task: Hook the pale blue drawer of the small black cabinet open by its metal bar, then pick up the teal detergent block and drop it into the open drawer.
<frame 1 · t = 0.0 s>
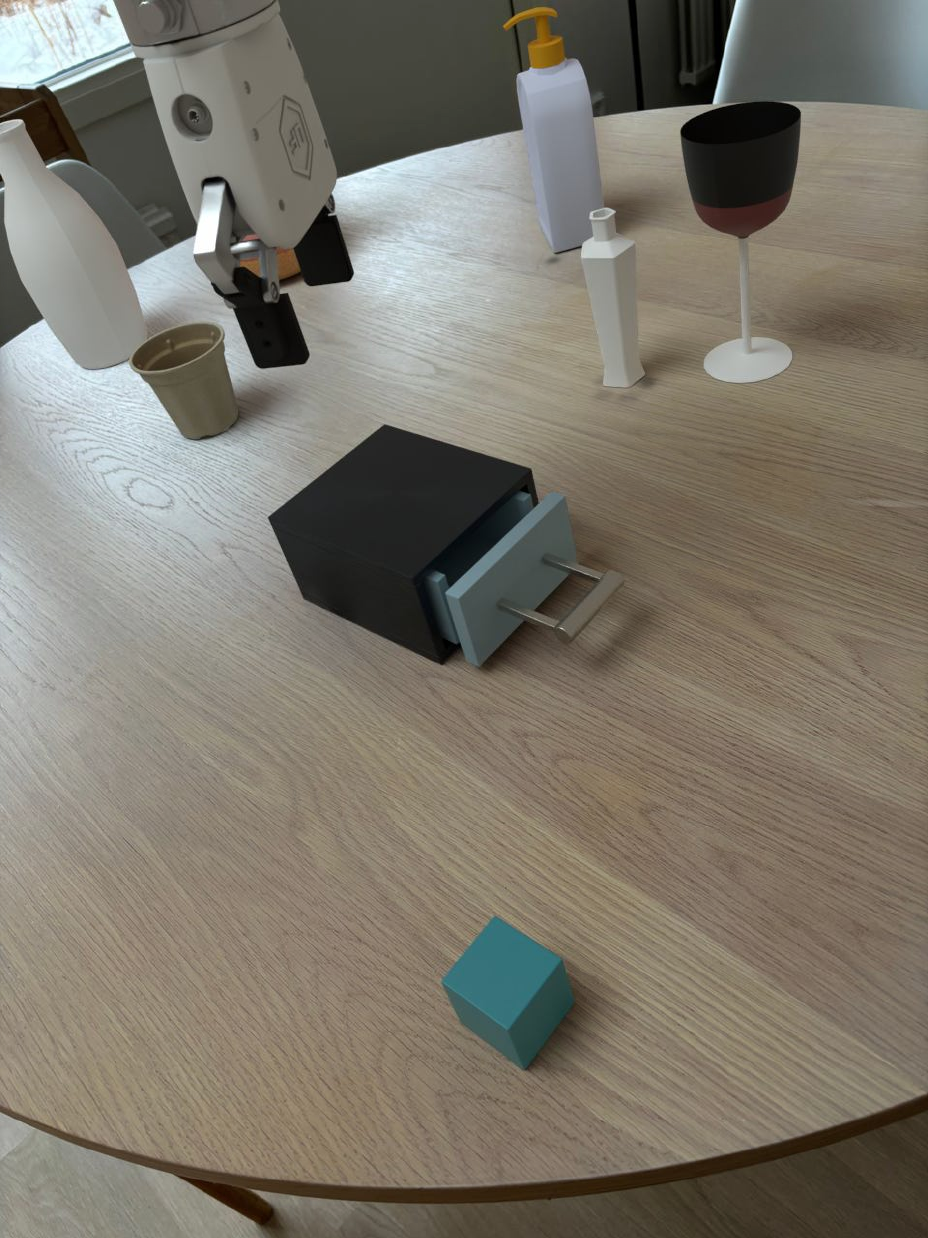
hand: (308, 320, 60), 23 cm above the table, tool pointing down, fingers open, 9 cm apart
bottle: (114, 351, 120), on the table
perfume bottle: (620, 379, 91), on the table
wineglass: (747, 361, 89), on the table
vase: (280, 268, 127), on the table
small black cabinet: (424, 578, 77), on the table
drawer: (481, 564, 70), point 4 cm above the table, slide at 2.0 cm
flower pot: (211, 423, 102), on the table
soap bottle: (570, 235, 116), on the table
detergent block: (517, 1012, 51), on the table
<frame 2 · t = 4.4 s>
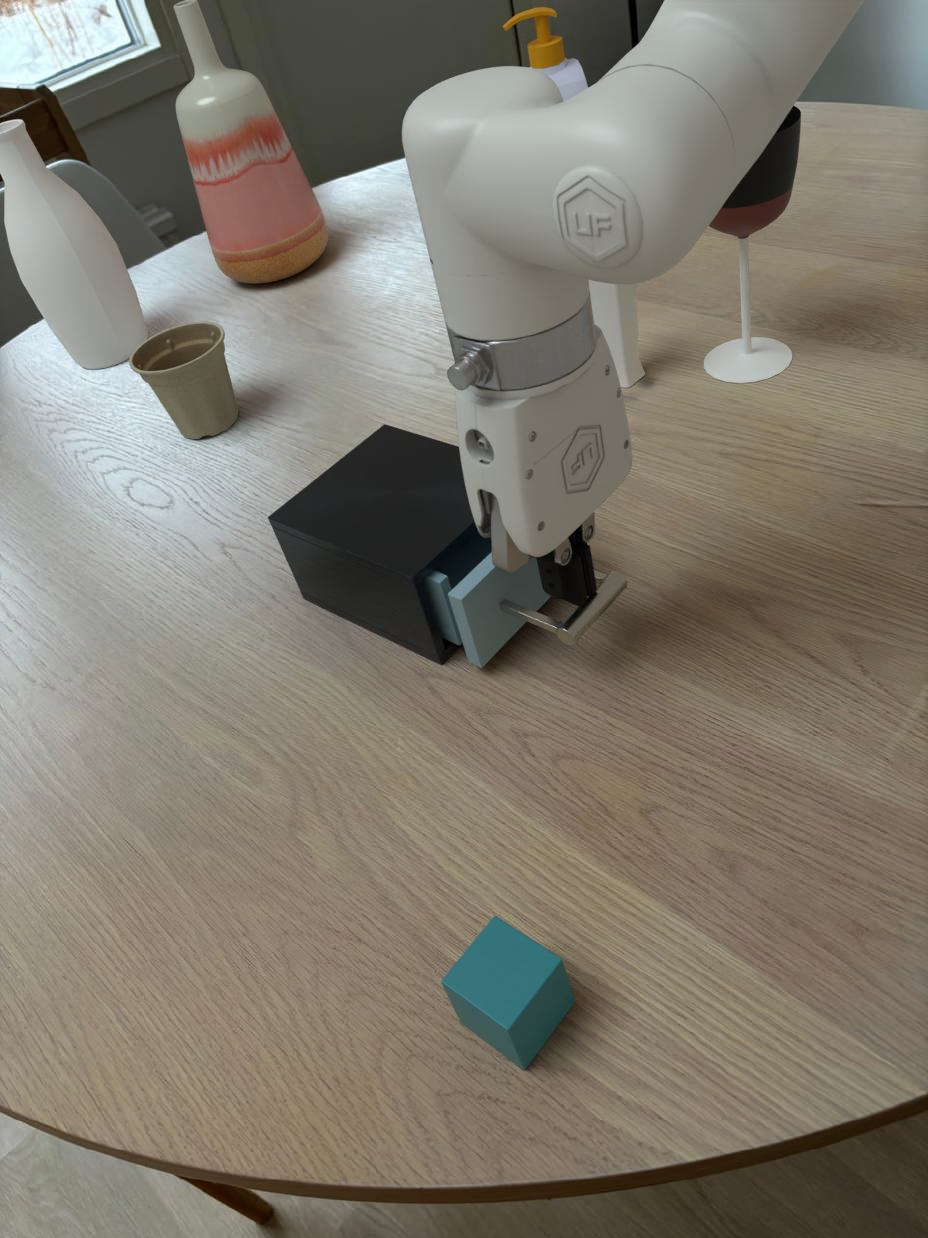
hand: (570, 592, 65), 5 cm above the table, tool pointing down, fingers closed
drawer: (484, 565, 70), point 4 cm above the table, slide at 2.2 cm, touching gripper
everything else where it was.
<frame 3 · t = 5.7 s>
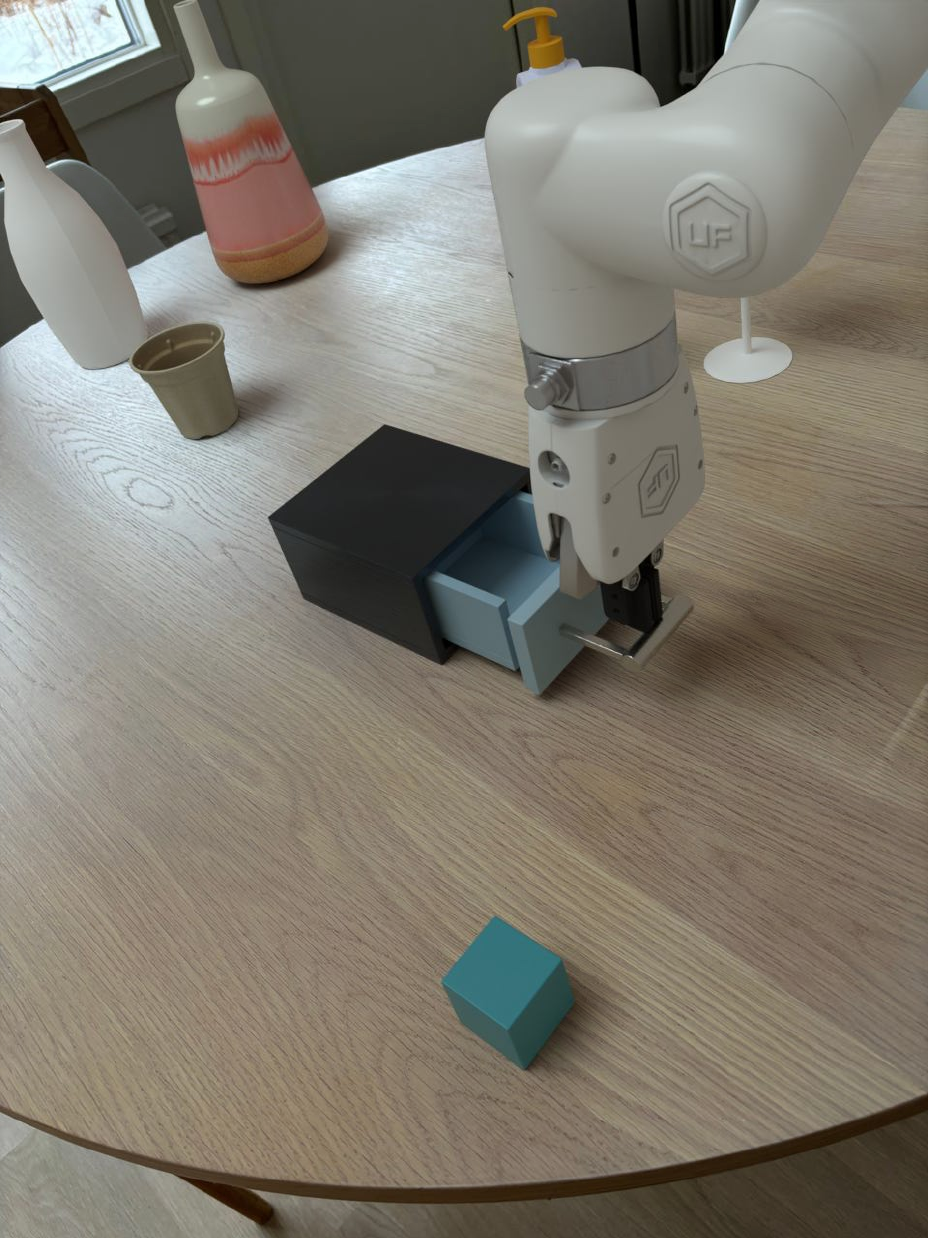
hand: (633, 616, 62), 5 cm above the table, tool pointing down, fingers closed
drawer: (540, 587, 67), point 4 cm above the table, slide at 7.1 cm, touching gripper
everything else where it was.
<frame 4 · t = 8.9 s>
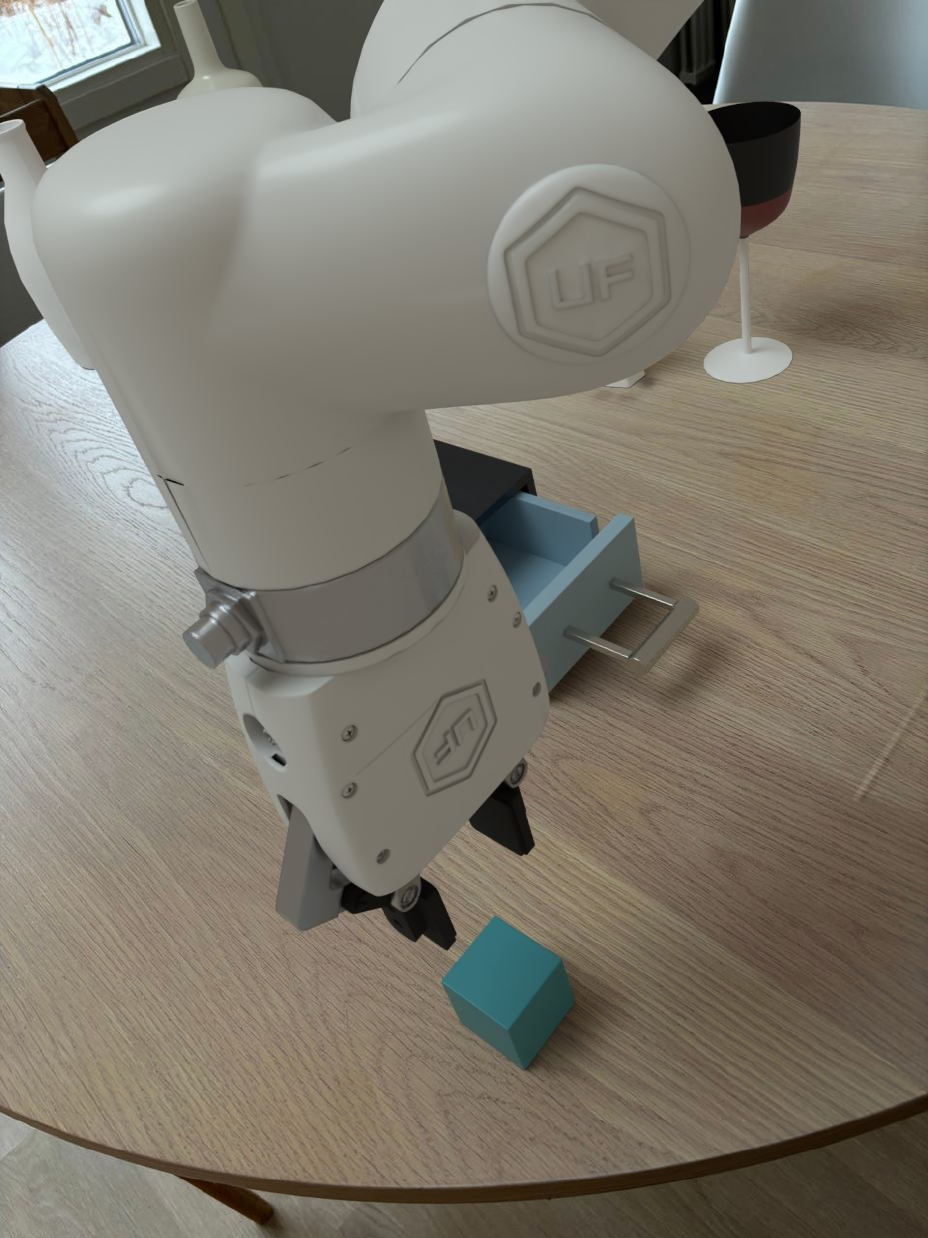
hand: (464, 878, 42), 12 cm above the table, tool pointing down, fingers open, 4 cm apart
drawer: (544, 589, 67), point 4 cm above the table, slide at 7.5 cm
everything else where it was.
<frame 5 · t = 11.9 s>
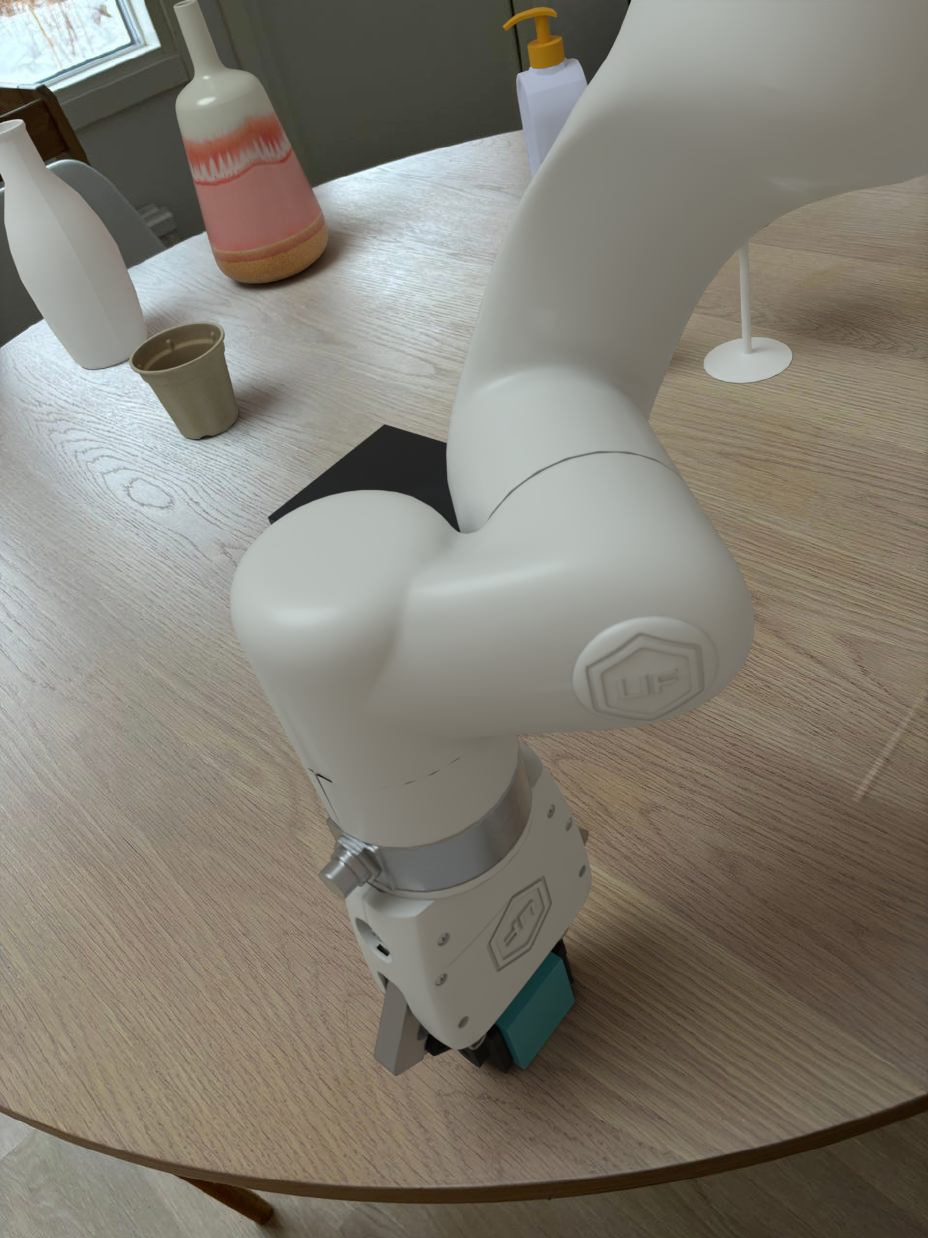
hand: (516, 1009, 50), 0 cm above the table, tool pointing down, fingers closed on detergent block, 4 cm apart
detergent block: (517, 1012, 51), on the table, touching gripper
everything else where it was.
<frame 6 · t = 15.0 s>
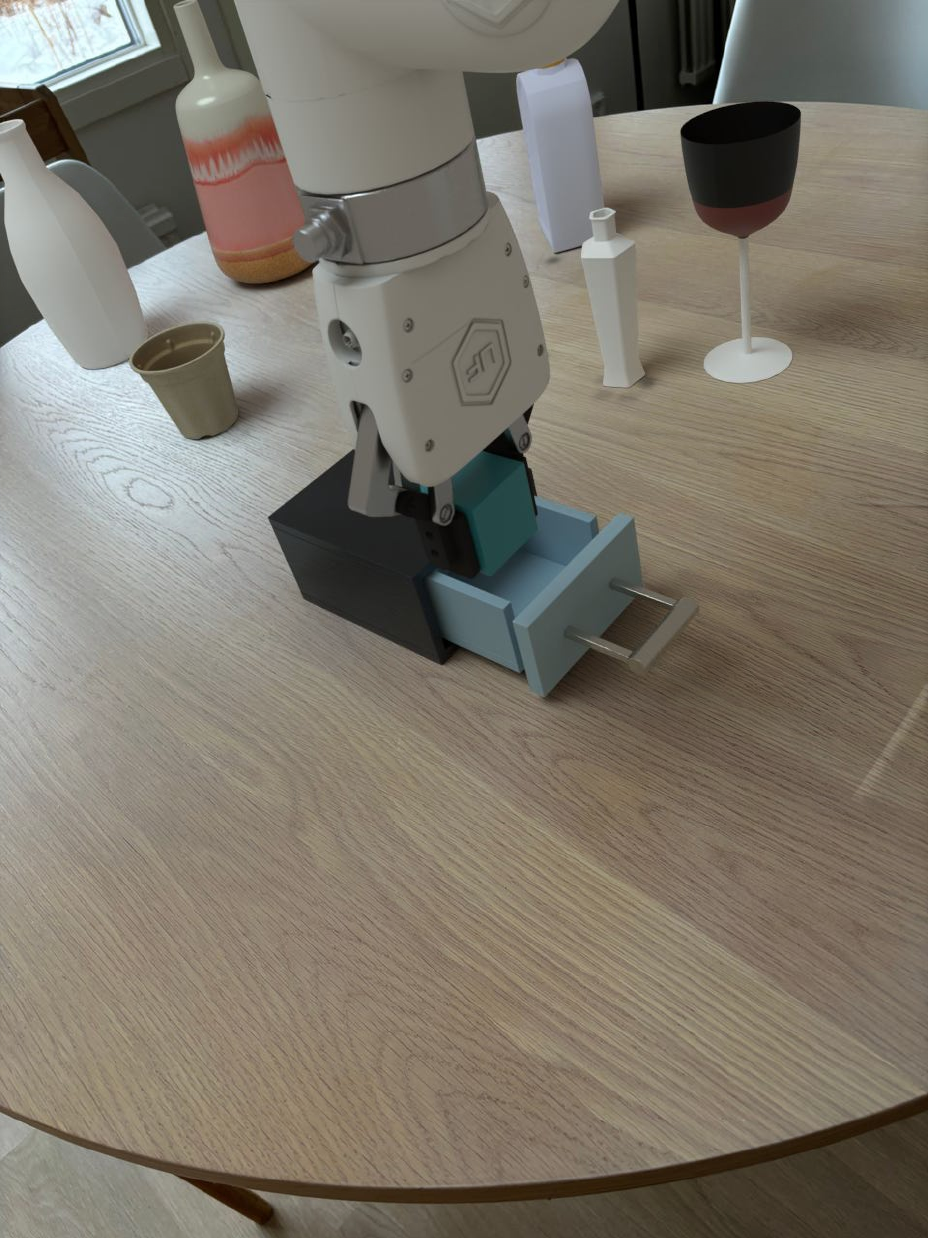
hand: (483, 537, 54), 15 cm above the table, tool pointing down, fingers closed on detergent block, 4 cm apart
detergent block: (484, 542, 54), point 15 cm above the table, touching gripper
everything else where it was.
when the fingers open (7 cm above the table, at t = 18.4 s): detergent block drops 4 cm, resting on drawer.
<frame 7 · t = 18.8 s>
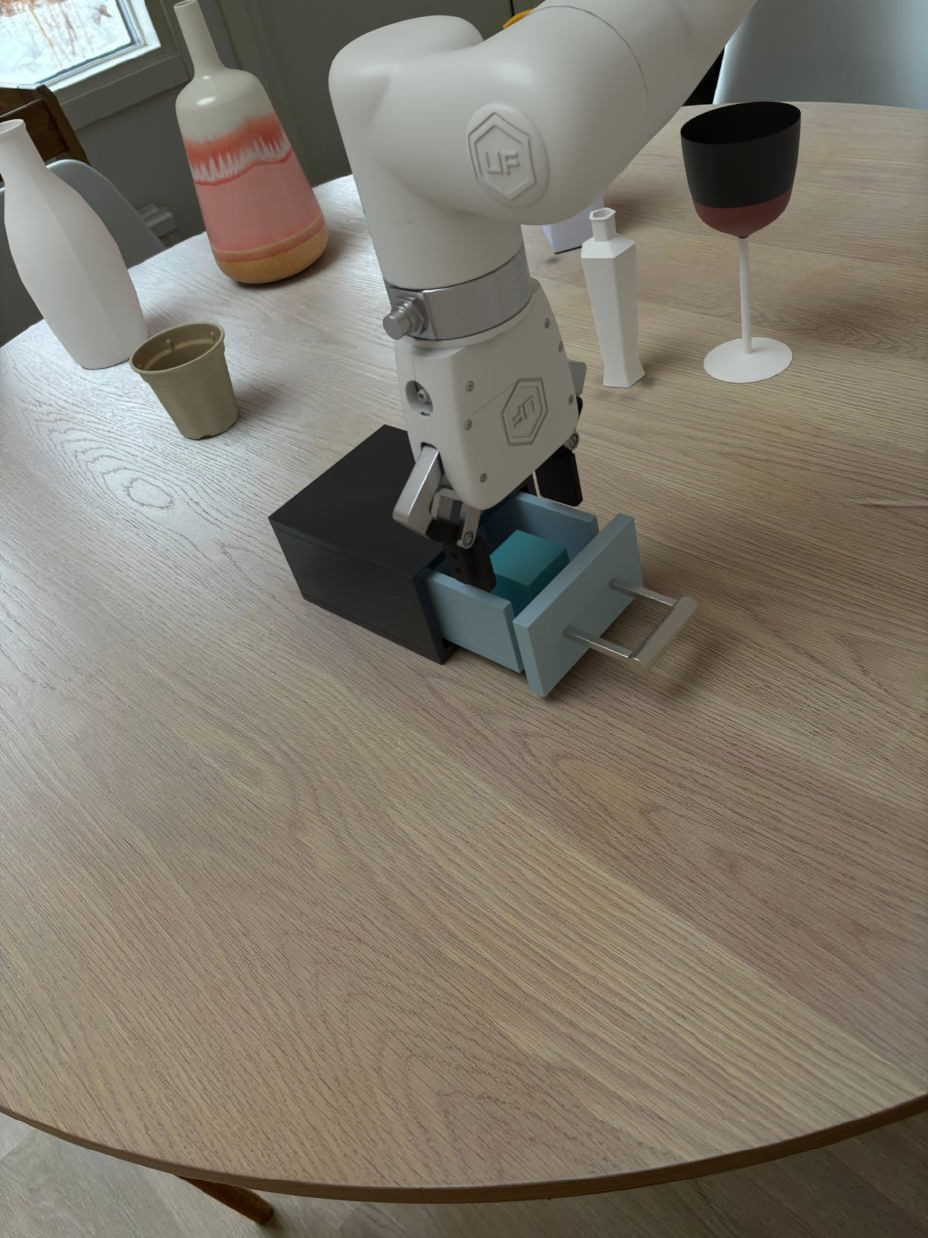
hand: (519, 539, 65), 8 cm above the table, tool pointing down, fingers open, 8 cm apart
drawer: (544, 589, 67), point 4 cm above the table, slide at 7.5 cm, touching detergent block
detergent block: (533, 605, 69), point 2 cm above the table, touching drawer
everything else where it was.
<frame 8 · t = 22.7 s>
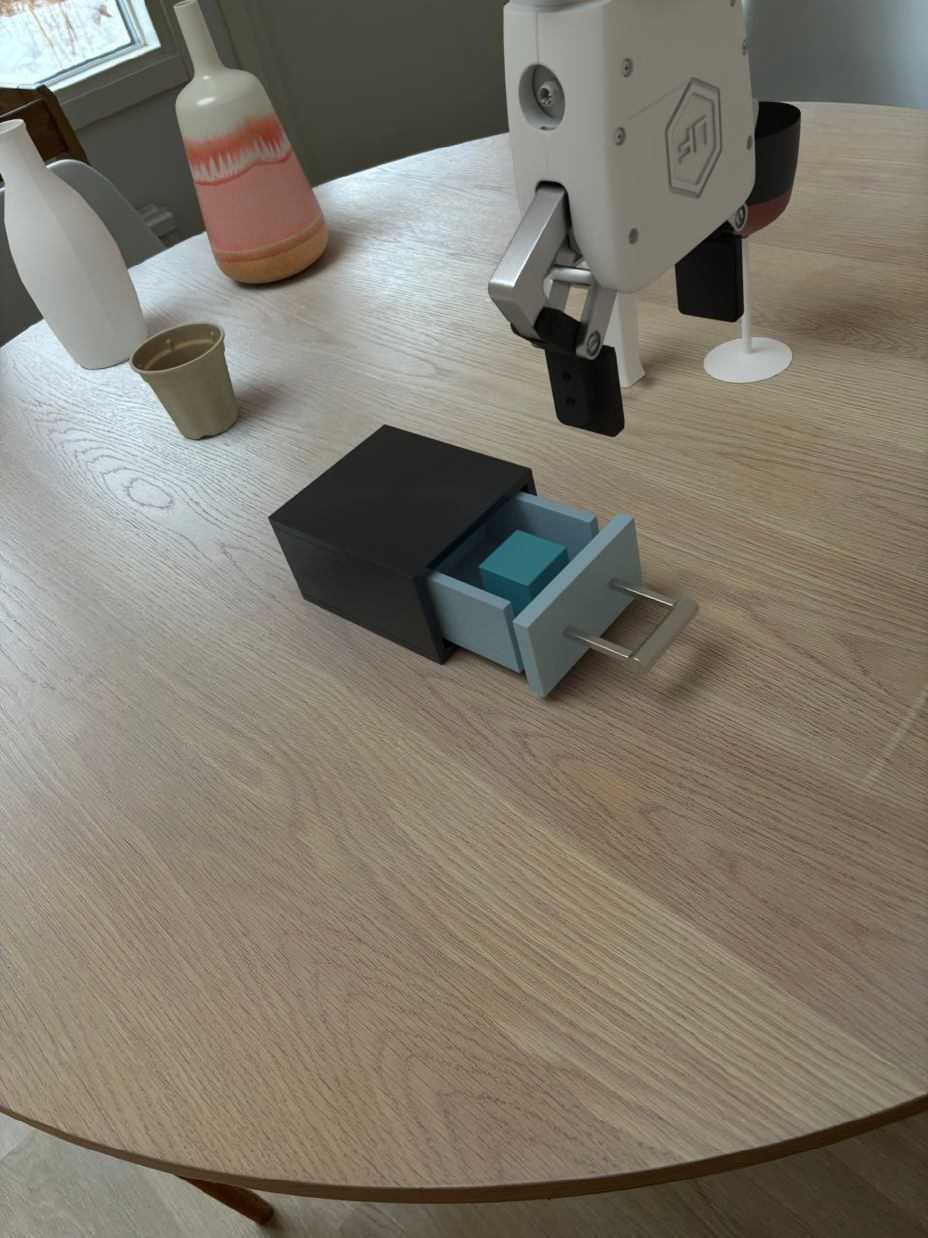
hand: (653, 368, 45), 24 cm above the table, tool pointing down, fingers open, 9 cm apart
nothing on the table moved.
at the end: drawer slide at 7.5 cm; detergent block inside the target area in the drawer (0.5 cm from its centre), point 2.0 cm above the small black cabinet's base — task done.
